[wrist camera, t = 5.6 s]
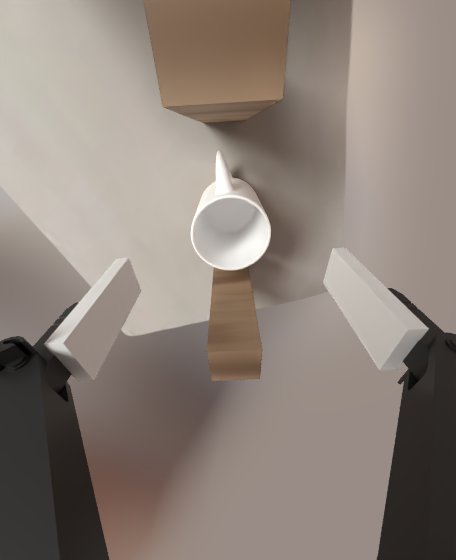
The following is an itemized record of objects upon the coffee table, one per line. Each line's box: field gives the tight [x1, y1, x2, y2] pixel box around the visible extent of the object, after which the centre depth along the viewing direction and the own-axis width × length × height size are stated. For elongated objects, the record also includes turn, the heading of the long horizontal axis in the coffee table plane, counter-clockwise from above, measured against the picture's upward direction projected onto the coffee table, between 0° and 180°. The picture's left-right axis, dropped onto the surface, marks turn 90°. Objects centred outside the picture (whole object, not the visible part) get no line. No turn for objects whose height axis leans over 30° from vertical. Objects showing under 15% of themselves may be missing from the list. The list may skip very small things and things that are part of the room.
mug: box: [191, 150, 271, 270], centre depth 25 cm, size 9×12×11 cm
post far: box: [207, 267, 262, 381], centre depth 28 cm, size 5×5×20 cm
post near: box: [144, 0, 291, 123], centre depth 15 cm, size 5×5×20 cm
